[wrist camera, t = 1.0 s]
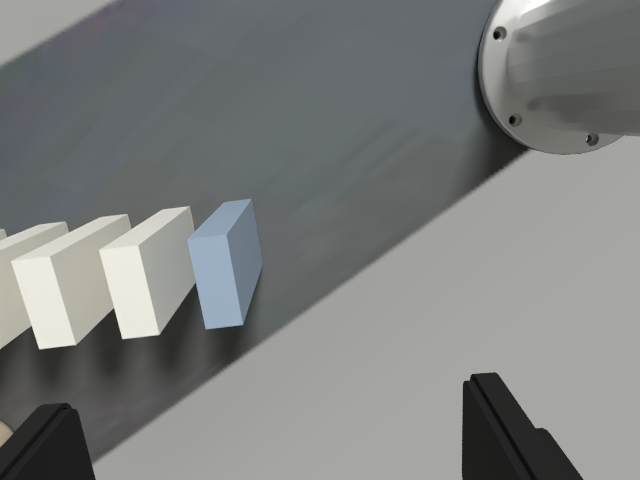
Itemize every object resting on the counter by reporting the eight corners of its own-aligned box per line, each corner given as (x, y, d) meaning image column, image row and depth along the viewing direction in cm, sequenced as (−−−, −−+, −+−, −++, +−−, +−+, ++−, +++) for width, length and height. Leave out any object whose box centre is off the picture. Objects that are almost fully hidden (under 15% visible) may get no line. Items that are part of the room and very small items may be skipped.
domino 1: (65, 221, 33) (-38, 266, 23) (83, 286, 34) (-7, 354, 24) (38, 224, 33) (-77, 271, 23) (57, 289, 34) (-44, 358, 24)
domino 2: (127, 214, 32) (49, 256, 23) (143, 278, 34) (75, 344, 24) (100, 217, 33) (10, 261, 23) (117, 282, 34) (39, 349, 24)
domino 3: (189, 206, 32) (138, 245, 23) (202, 271, 34) (159, 334, 24) (162, 209, 32) (98, 250, 23) (176, 274, 34) (122, 339, 24)
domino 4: (252, 198, 32) (226, 234, 23) (262, 264, 34) (243, 325, 24) (224, 202, 32) (187, 239, 23) (236, 267, 34) (205, 329, 24)
